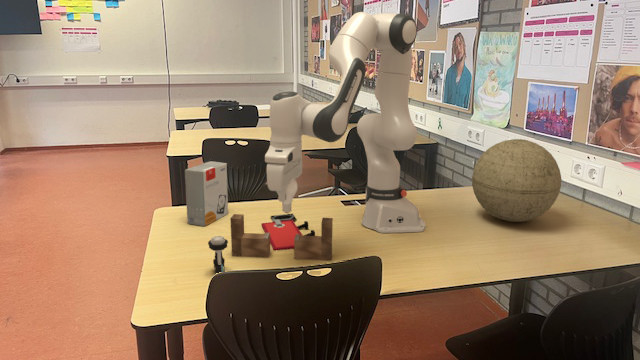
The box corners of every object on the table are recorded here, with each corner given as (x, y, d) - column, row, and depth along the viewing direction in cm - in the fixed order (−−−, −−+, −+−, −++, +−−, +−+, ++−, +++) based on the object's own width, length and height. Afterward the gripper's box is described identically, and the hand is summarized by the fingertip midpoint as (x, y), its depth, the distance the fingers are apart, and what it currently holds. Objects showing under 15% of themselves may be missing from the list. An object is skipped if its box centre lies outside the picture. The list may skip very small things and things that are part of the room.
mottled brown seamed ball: (516, 203, 197) (525, 131, 189) (574, 229, 170) (587, 145, 162) (452, 210, 188) (459, 134, 180) (503, 238, 161) (514, 150, 153)
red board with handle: (297, 215, 181) (258, 219, 177) (297, 208, 181) (257, 212, 177) (320, 247, 154) (274, 253, 150) (320, 239, 153) (273, 245, 149)
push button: (208, 267, 138) (206, 234, 135) (227, 264, 140) (225, 232, 137) (210, 277, 132) (208, 243, 129) (230, 274, 134) (228, 241, 131)
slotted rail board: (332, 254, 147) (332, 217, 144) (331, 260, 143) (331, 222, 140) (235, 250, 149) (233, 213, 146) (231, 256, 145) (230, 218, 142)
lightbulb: (300, 215, 139) (300, 178, 136) (278, 217, 137) (278, 180, 134) (294, 208, 145) (294, 172, 142) (274, 210, 143) (273, 174, 140)
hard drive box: (205, 227, 168) (201, 172, 163) (186, 224, 171) (183, 169, 166) (229, 213, 182) (226, 162, 177) (211, 211, 185) (209, 160, 180)
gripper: (287, 143, 146) (288, 186, 150) (262, 157, 127) (263, 207, 131) (307, 144, 145) (307, 188, 148) (284, 159, 126) (285, 209, 129)
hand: (286, 197), depth 140 cm, fingers closed on lightbulb, 6 cm apart
